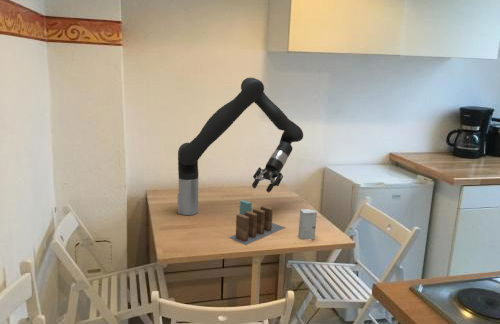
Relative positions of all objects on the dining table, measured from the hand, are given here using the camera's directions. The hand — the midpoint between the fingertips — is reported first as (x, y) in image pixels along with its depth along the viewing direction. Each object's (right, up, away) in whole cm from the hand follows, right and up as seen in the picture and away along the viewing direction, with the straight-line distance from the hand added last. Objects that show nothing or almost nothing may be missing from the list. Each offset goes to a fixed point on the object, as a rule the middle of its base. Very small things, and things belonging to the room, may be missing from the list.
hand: (260, 189), depth 196 cm
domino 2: (-8, -19, -23) cm, 31 cm away
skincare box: (+19, -19, -18) cm, 33 cm away
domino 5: (+2, -16, -12) cm, 20 cm away
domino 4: (-1, -17, -15) cm, 23 cm away
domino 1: (-7, -15, -4) cm, 17 cm away
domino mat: (-1, -18, -15) cm, 24 cm away
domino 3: (-5, -18, -19) cm, 27 cm away
